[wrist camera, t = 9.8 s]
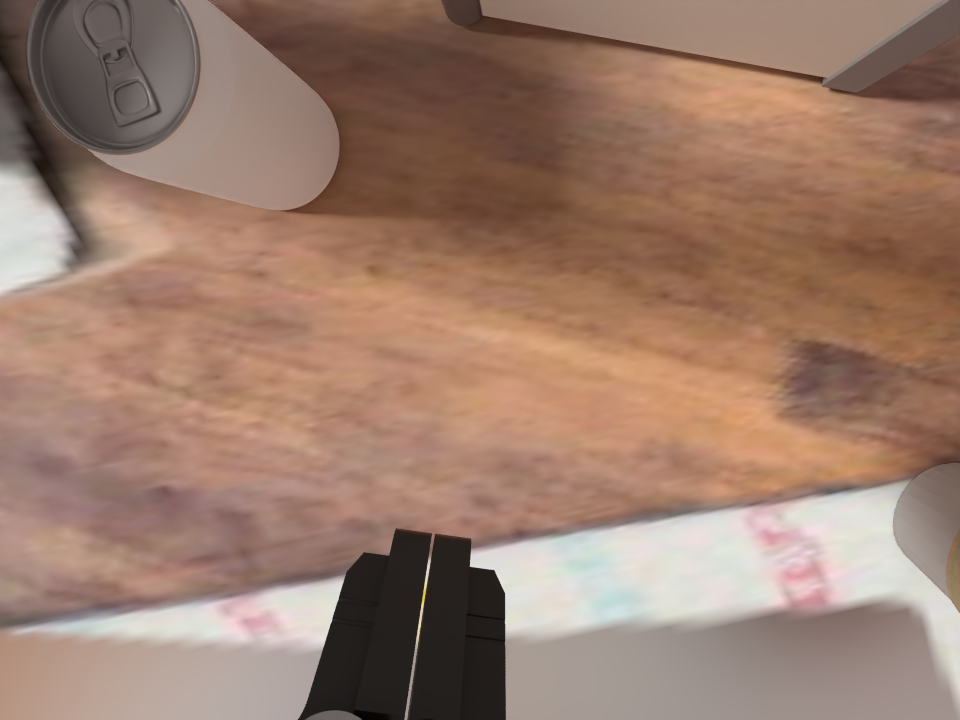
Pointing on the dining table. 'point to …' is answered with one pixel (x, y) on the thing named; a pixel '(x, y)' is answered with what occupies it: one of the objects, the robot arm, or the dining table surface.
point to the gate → (753, 30)
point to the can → (181, 99)
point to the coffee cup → (933, 526)
